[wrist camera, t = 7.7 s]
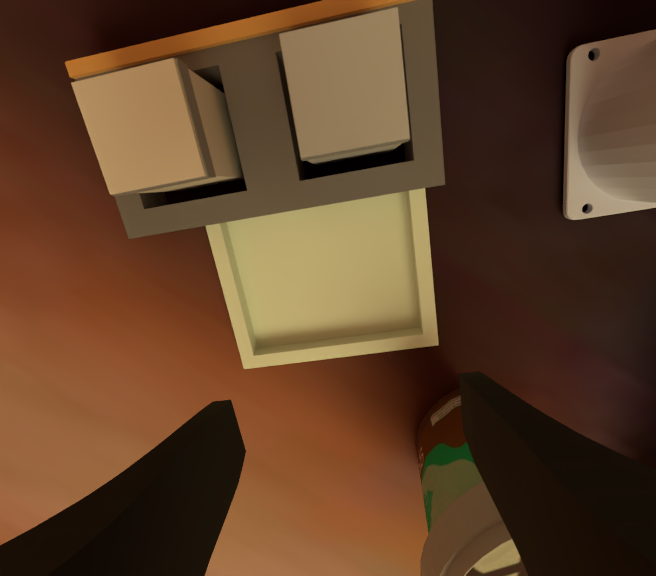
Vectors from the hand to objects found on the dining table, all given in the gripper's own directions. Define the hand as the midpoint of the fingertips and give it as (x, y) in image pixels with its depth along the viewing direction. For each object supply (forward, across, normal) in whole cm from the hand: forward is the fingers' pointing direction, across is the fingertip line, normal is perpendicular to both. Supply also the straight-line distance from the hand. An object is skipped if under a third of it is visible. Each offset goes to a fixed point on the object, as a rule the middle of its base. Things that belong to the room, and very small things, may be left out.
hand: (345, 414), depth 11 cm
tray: (+10, +1, -2) cm, 11 cm away
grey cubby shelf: (+10, +2, -10) cm, 15 cm away
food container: (+11, -5, +12) cm, 17 cm away
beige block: (+10, -2, -10) cm, 15 cm away
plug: (+10, +6, -10) cm, 16 cm away
